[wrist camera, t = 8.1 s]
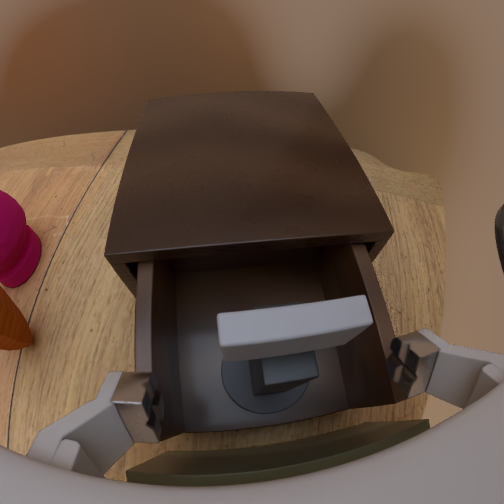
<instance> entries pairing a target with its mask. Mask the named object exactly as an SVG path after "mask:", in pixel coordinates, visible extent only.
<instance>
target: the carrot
mask: <svg viewBox="0 0 504 504" xmlns="http://www.w3.org/2000/svg"><path fill="white" fill-rule="evenodd" d="M32 343H33V335H32V332H31V330H30V328H29V326H28V324H27V322H26V320H25V318H24V316H23V315H22V313H21V311H20V310H19V308H18V307H17V306H16V305H15V303H14V302H13V301H12V300H11V298H10V297H9V296H8V295H7V294H6V293H5V291H4V290H3V289H2V288H1V287H0V349H2V350H8V351H9V350H19V349H22V348H25V347H28V346H30V345H31V344H32Z"/></svg>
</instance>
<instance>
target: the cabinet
mask: <svg viewBox="0 0 504 504" xmlns="http://www.w3.org/2000/svg"><path fill="white" fill-rule="evenodd" d="M393 233H394V229H393V227H392V225H391V223H390V221H389V219H388V216H387V214H386V212H385V210H384V208H383V206H382V204H381V202H380V200H379V198H378V197H377V195H376V193H375V191H374V189H373V187H372V185H371V183H370V182H369V180H368V178H367V176H366V174H365V173H364V171H363V169H362V167H361V165H360V164H359V162H358V160H357V159H356V157H355V155H354V154H353V152H352V150H351V149H350V147H349V145H348V144H347V142H346V141H345V139H344V137H343V136H342V134H341V133H340V131H339V130H338V128H337V127H336V125H335V123H334V122H333V121H332V119H331V118H330V116H329V115H328V113H327V112H326V110H325V109H324V107H323V106H322V105H321V103H320V102H319V100H318V99H317V98H316V96H315V95H314V93H304V92H283V91H237V92H217V93H203V94H193V95H183V96H174V97H167V98H160V99H153V100H148V101H147V103H146V105H145V108H144V111H143V113H142V116H141V118H140V121H139V124H138V127H137V130H136V132H135V135H134V138H133V141H132V144H131V147H130V150H129V154H128V157H127V160H126V163H125V167H124V170H123V174H122V177H121V181H120V185H119V188H118V192H117V196H116V200H115V204H114V209H113V213H112V217H111V222H110V227H109V232H108V237H107V242H106V247H105V253H104V256H105V257H106V259H107V260H108V262H109V263H110V264H111V266H112V267H113V269H114V270H115V271H116V273H117V274H118V276H119V277H120V278H121V280H122V281H123V282H124V284H125V285H126V286H127V288H128V289H129V290H130V291H131V293H132V294H133V295H134V297H135V298H136V286H137V272H138V262H142V261H153V260H165V259H176V258H188V257H200V256H211V255H223V254H234V253H246V252H257V251H269V250H281V249H292V248H304V247H315V246H327V245H338V244H350V243H362V242H364V244H365V246H366V249H367V252H368V254H369V257H370V260H371V263H372V262H373V261H374V259H375V258H376V257H377V255H378V254H379V253H380V251H381V250H382V248H383V247H384V246H385V244H386V243H387V241H388V240H389V239H390V237H391V236H392V234H393Z"/></svg>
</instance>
